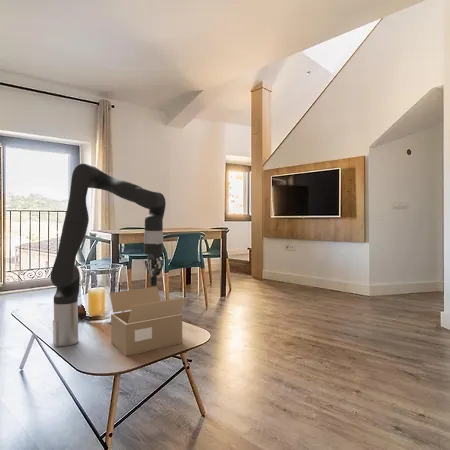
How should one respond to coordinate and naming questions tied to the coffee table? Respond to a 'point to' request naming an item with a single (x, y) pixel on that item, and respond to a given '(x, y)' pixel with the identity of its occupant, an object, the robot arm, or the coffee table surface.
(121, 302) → the far flap
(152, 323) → the carton
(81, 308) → the decorative turtle
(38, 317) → the coffee table surface
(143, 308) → the near flap
